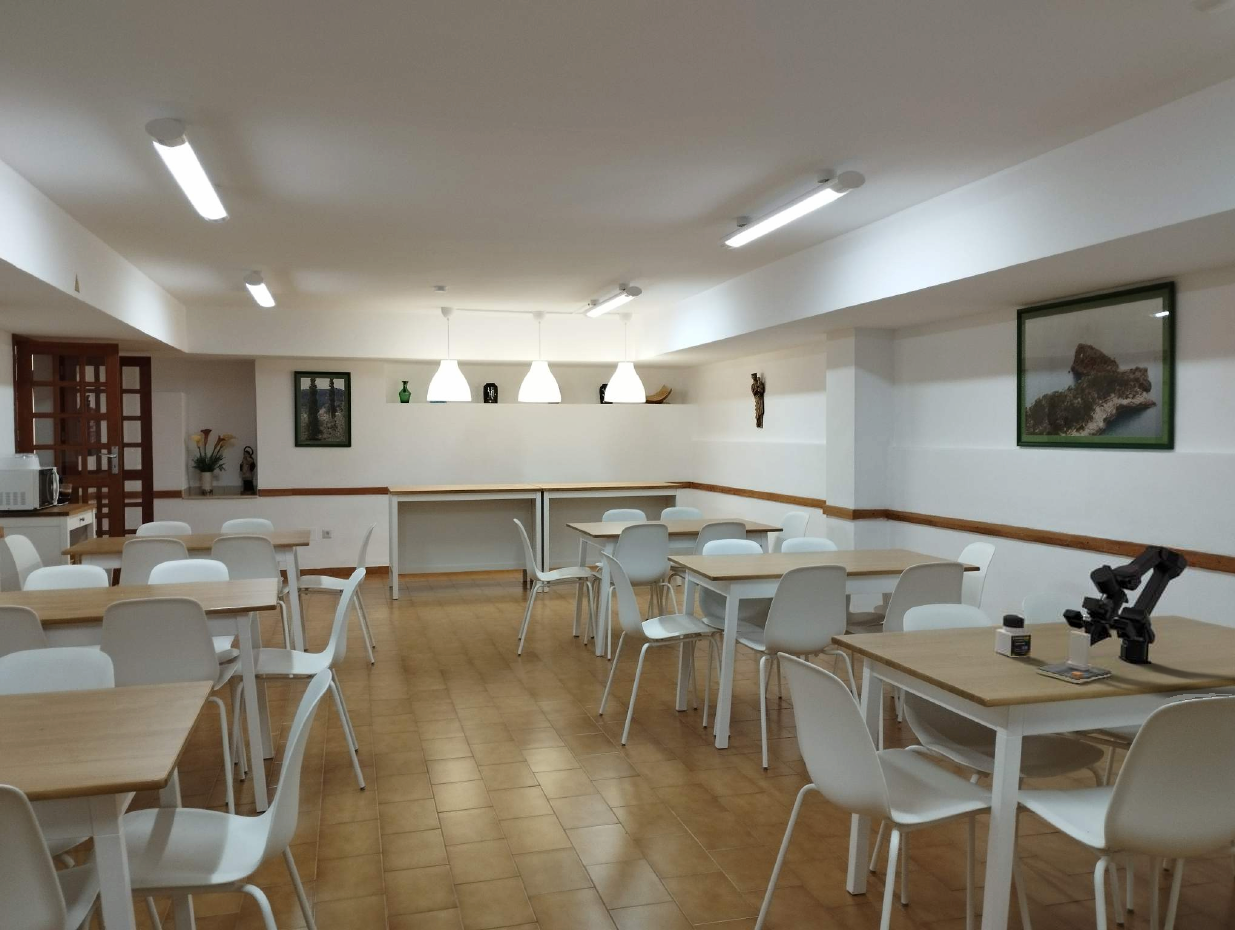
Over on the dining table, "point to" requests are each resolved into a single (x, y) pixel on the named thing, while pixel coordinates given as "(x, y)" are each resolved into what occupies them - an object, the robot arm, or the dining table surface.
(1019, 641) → the medicine bottle
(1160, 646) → the dining table surface
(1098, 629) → the robot arm
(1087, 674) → the switch panel
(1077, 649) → the tab
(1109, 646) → the dining table surface
